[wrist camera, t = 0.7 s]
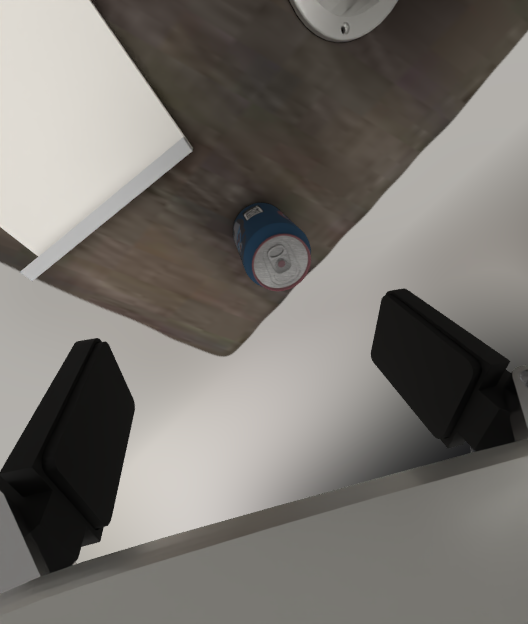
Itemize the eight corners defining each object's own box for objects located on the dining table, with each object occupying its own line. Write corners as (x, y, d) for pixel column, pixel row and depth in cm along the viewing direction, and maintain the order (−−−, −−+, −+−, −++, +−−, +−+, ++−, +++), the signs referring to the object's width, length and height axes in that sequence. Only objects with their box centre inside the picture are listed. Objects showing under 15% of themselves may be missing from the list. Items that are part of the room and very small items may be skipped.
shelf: (64, -39, 22) (16, -102, 16) (192, 147, 30) (192, 151, 24) (-97, 127, 25) (-186, 125, 19) (60, 255, 33) (32, 281, 27)
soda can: (291, 239, 38) (325, 277, 28) (246, 262, 38) (264, 307, 28) (271, 190, 34) (303, 213, 24) (221, 216, 34) (232, 250, 24)
